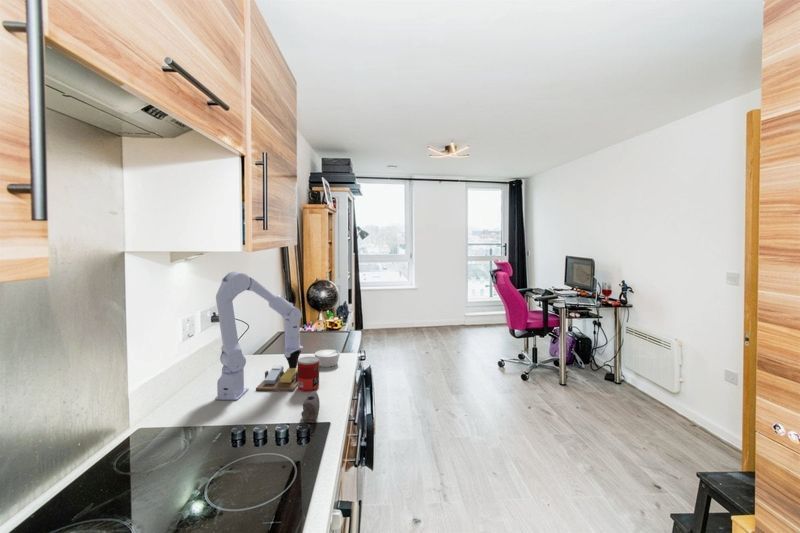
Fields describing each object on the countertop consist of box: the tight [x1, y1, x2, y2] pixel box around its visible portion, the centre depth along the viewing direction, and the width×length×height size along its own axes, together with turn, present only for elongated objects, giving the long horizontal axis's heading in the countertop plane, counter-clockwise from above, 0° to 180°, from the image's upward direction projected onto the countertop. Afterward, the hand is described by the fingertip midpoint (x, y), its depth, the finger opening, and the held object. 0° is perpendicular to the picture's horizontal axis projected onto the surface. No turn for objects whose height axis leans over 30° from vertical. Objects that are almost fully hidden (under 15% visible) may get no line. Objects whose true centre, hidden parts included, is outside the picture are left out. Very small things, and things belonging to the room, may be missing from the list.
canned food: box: [297, 356, 320, 393], centre depth 136 cm, size 8×8×11 cm
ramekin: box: [314, 349, 341, 368], centre depth 164 cm, size 11×11×5 cm
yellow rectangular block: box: [280, 366, 298, 382], centre depth 141 cm, size 10×4×2 cm, turn 0°
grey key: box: [263, 364, 284, 384], centre depth 141 cm, size 10×4×2 cm, turn 179°
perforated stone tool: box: [301, 391, 321, 424], centre depth 115 cm, size 15×5×7 cm, turn 7°
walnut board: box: [255, 370, 298, 392], centre depth 141 cm, size 16×14×4 cm
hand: (293, 369), depth 146 cm, fingers closed, pressing on yellow rectangular block
